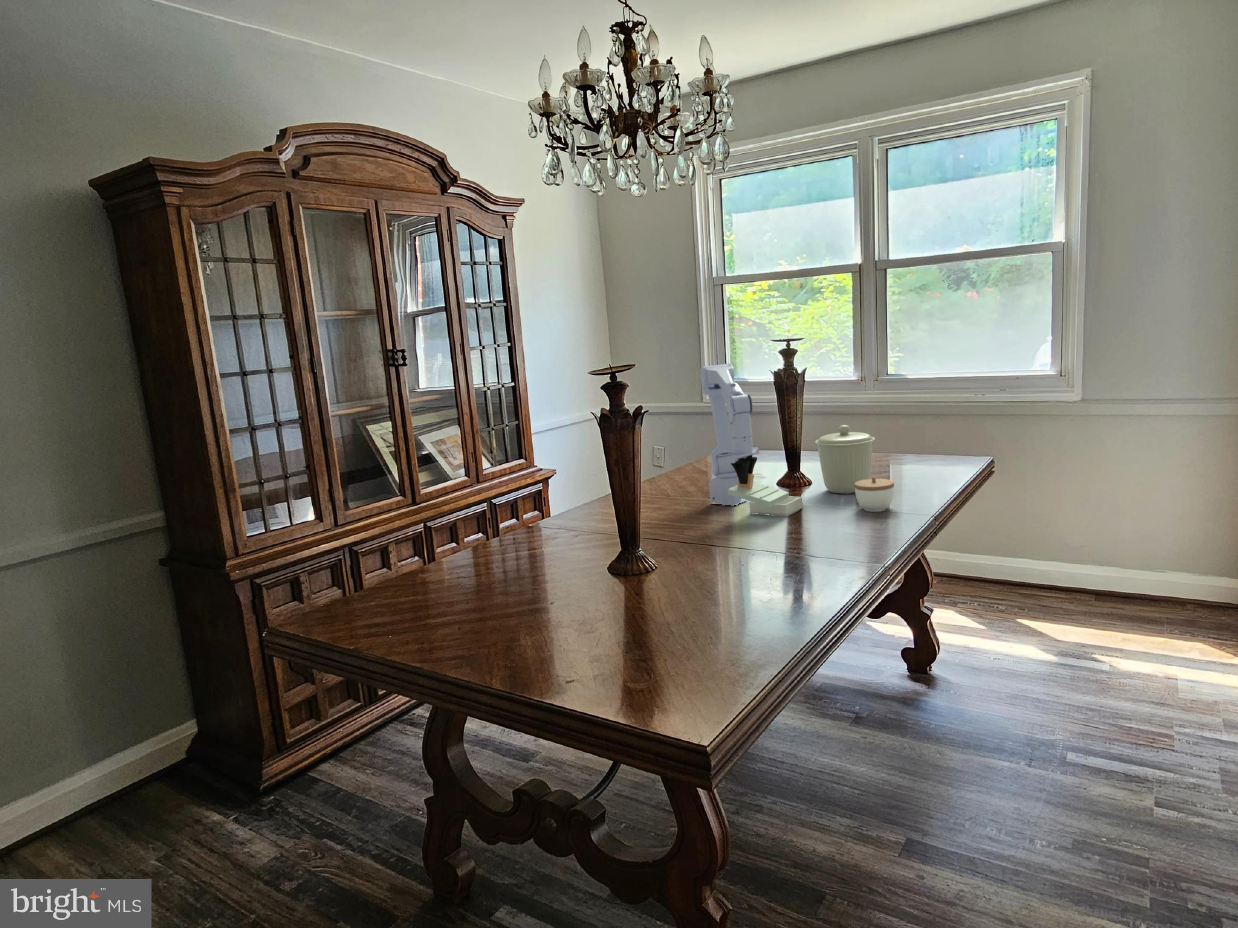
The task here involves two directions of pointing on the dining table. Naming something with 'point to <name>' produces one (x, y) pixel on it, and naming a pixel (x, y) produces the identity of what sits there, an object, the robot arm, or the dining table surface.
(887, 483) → the lidded jar
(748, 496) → the lid
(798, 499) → the parts tub
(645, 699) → the dining table surface
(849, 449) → the canister
